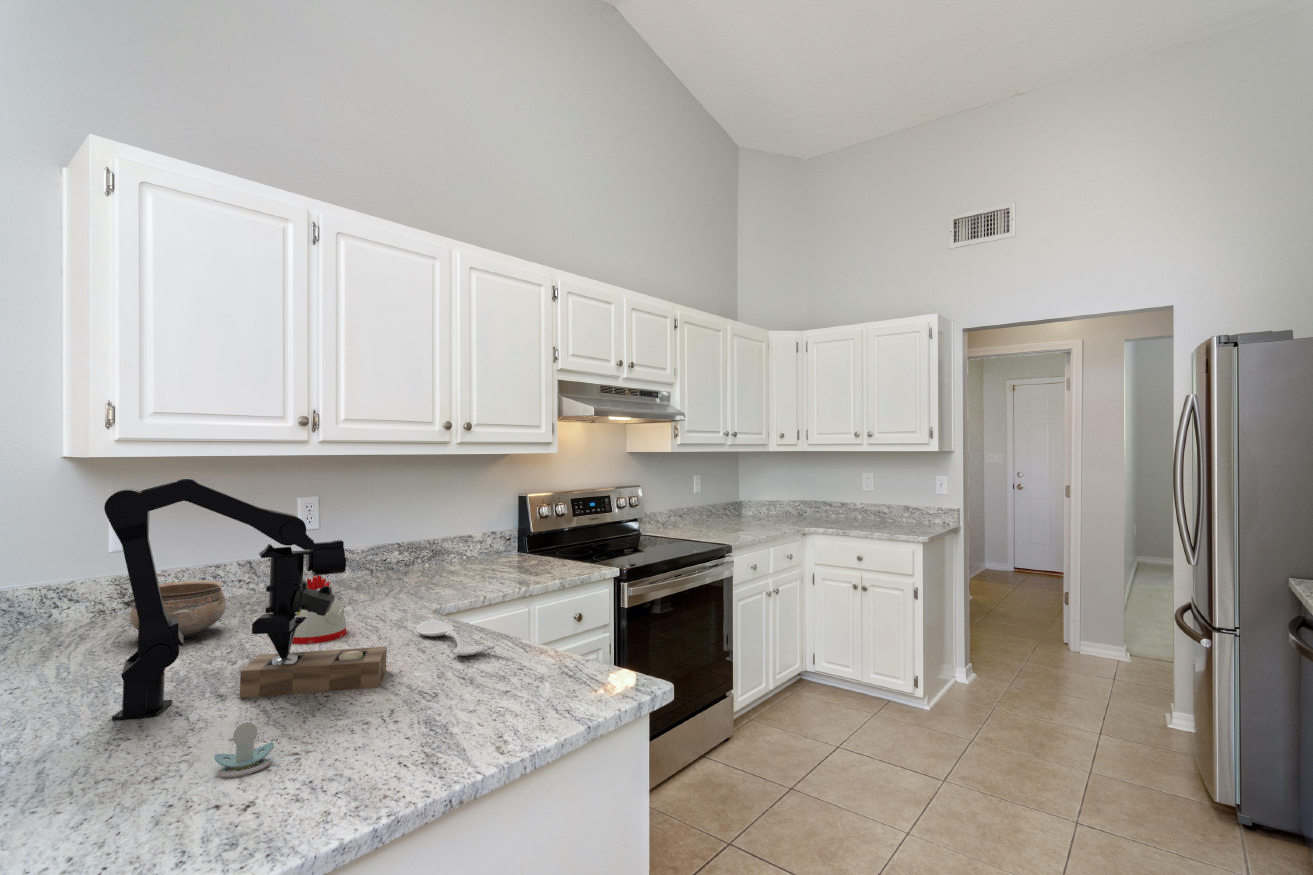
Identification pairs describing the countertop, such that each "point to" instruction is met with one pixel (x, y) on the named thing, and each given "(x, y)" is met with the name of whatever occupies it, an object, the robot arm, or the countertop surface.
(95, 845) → the countertop surface
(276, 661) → the steel peg
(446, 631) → the spoon
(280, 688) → the walnut block
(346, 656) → the birch peg
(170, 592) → the cooking pot
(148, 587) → the robot arm
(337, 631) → the kitchen timer
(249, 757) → the pacifier
